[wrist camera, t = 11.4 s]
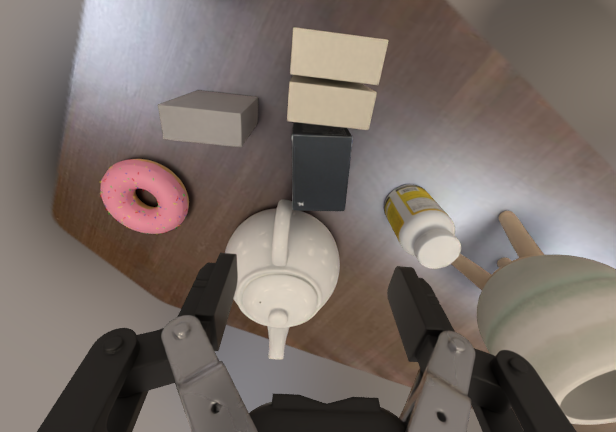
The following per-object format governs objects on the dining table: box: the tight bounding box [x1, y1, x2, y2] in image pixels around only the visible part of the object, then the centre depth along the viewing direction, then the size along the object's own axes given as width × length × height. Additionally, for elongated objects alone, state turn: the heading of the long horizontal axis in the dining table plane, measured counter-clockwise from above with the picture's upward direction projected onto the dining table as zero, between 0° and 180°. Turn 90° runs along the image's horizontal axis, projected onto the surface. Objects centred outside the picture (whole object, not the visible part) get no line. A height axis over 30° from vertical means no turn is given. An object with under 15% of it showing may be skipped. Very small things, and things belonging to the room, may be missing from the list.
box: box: [291, 122, 353, 211], centre depth 30 cm, size 8×6×11 cm
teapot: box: [225, 199, 340, 359], centre depth 37 cm, size 19×18×14 cm
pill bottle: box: [384, 184, 461, 269], centre depth 34 cm, size 6×6×12 cm
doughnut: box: [100, 159, 189, 234], centre depth 36 cm, size 11×11×4 cm
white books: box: [287, 27, 388, 130], centre depth 26 cm, size 6×7×11 cm
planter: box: [451, 211, 616, 424], centre depth 34 cm, size 16×16×22 cm
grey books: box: [158, 90, 258, 147], centre depth 24 cm, size 16×7×10 cm, turn 174°
